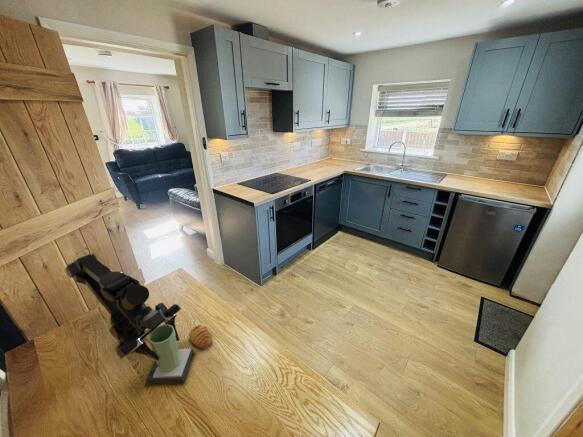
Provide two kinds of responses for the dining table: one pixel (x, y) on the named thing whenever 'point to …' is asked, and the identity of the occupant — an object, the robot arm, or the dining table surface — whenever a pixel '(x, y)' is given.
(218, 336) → the dining table surface
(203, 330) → the pastry
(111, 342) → the dining table surface
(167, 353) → the cup
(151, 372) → the scale
